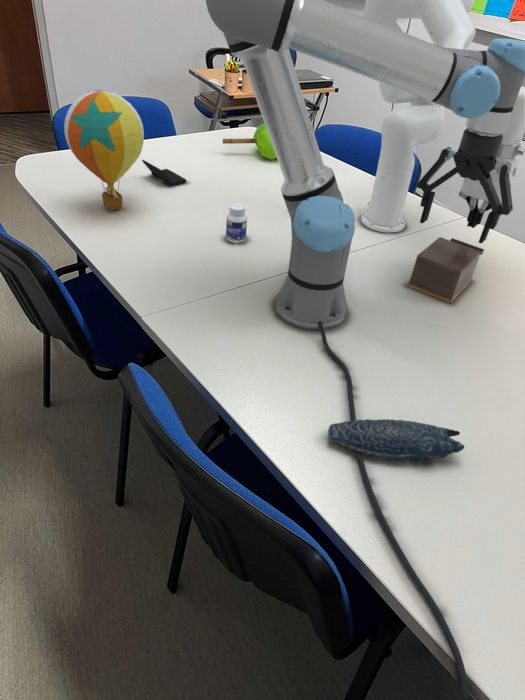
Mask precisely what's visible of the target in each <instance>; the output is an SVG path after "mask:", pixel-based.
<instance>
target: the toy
mask: <svg viewBox="0 0 525 700" xmlns="http://www.w3.org/2000/svg"><path fill="white" fill-rule="evenodd" d="M63 128H64V130H63V131H64V132H63V133H64V137H65V141H66V144H67V146H68V148H69V150H70V151H71V152H72V154H73V156H75V158H76V159H77V161H78V162H80V163H81V165H83V166H84V167H85V168H86V169H87V170H88V171H90V172H91V173H92V174H93V175H94V176H96V177H97V178H98V179H100V180H101V183H102V184H101V185H102V187H103V191H102V193H101V198H102V203H103V205H104V207H105V208H106V209H108V210H109V211H110V212H113V211H118V210H121V209H122V208H123V203H124V201H123V195H122V194H121V193H120V192H119V191H118V190H119V188H120V183H118V182H120V181H121V178H122V177H123V176H124V175H125V174H126V173H127V172H128V171H129V170H130V169H131V167H133V165H134V164H135V163H136V161H137V160H138V159H139V158H140V155H141V153H142V150H143V147H144V141H145V131H144V130H145V129H144V125H143V121H142V119H141V116H140V114H139V113H138V111H137V109H136V108H134V106H133V105H132V103H130V102H129V101H128V100H127V99H126V98H124V97H123V96H122V95H119V94H117V93H115V92H112V91H109V90H102V89H101V90H100V89H98V90H92V91H87V92H85V93H82V95H79V96H78V97H77V98H76V99H75V100H73V102H72V103H71V105H70V107H69V108H68V111H67V112H66V114H65V118H64V124H63ZM104 183H105V184H106V185H107V186H106V187H105V186H104ZM115 183H118V185H117V190H116V188H115Z"/></svg>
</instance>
